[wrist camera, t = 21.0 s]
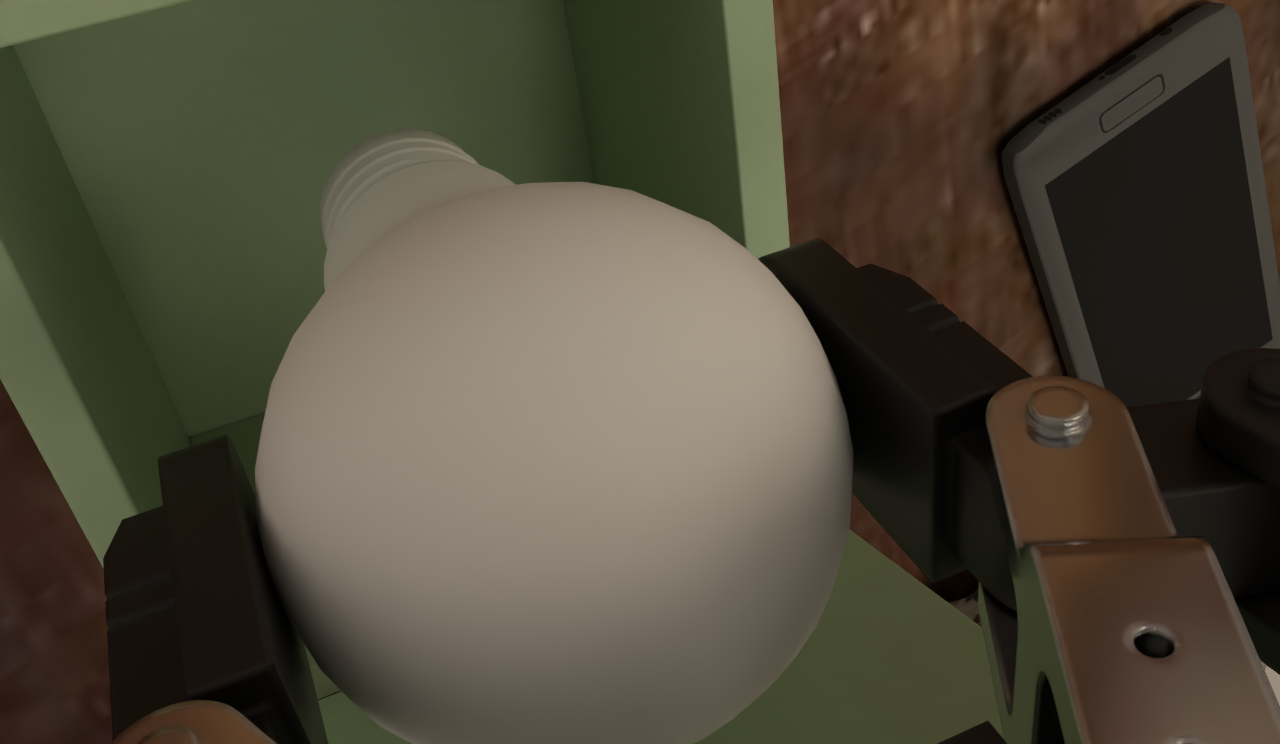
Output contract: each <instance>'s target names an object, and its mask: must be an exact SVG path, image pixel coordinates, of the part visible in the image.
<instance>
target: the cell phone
mask: <svg viewBox="0 0 1280 744" xmlns="http://www.w3.org/2000/svg"><path fill="white" fill-rule="evenodd" d="M1001 158H1002V165H1003V173H1004V178H1005V181H1006V184H1007V188H1008V191H1009V194H1010V197H1011V200H1012V203H1013V206H1014V209H1015V212H1016V216H1017V219H1018V222H1019V225H1020V228H1021V231H1022V234H1023V237H1024V240H1025V244H1026V247H1027V250H1028V253H1029V256H1030V259H1031V262H1032V265H1033V268H1034V272H1035V275H1036V278H1037V281H1038V284H1039V287H1040V290H1041V293H1042V297H1043V300H1044V303H1045V306H1046V309H1047V312H1048V315H1049V318H1050V321H1051V325H1052V328H1053V331H1054V334H1055V337H1056V340H1057V343H1058V346H1059V349H1060V353H1061V356H1062V359H1063V362H1064V365H1065V368H1066V371H1067V374H1068V377H1072V378H1077V379H1082V380H1085V381H1088V382H1092V383H1094V384H1096V385H1099V386H1101V387H1103V388H1105V389H1106V390H1108V391H1110V392H1111V393H1113V394H1114V395H1115V396H1116V397H1118V398H1119V399H1120V400H1121V401H1122V403H1123V404H1124V405H1125V406H1126V407H1133V406H1143V405H1151V404H1159V403H1166V402H1174V401H1182V400H1190V399H1198V398H1200V394H1201V388H1202V382H1203V377H1204V373H1205V371H1206V369H1207V368H1208V367H1209V366H1210V365H1211V363H1212V362H1214V361H1215V360H1217V359H1218V358H1220V357H1222V356H1224V355H1227V354H1229V353H1232V352H1236V351H1240V350H1246V349H1255V348H1273V349H1280V281H1279V274H1278V267H1277V260H1276V254H1275V247H1274V240H1273V233H1272V226H1271V219H1270V212H1269V205H1268V199H1267V192H1266V185H1265V178H1264V171H1263V164H1262V157H1261V150H1260V144H1259V137H1258V130H1257V123H1256V116H1255V109H1254V102H1253V95H1252V89H1251V82H1250V75H1249V68H1248V61H1247V54H1246V47H1245V40H1244V34H1243V29H1242V25H1241V21H1240V17H1239V15H1238V13H1237V11H1236V10H1235V9H1233V8H1231V7H1229V6H1227V5H1225V4H1220V3H1206V4H1204V5H1202V6H1201V7H1199V8H1197V9H1195V10H1194V11H1192V12H1190V13H1188V14H1186V15H1185V16H1183V17H1182V18H1180V19H1179V20H1177V21H1176V22H1175V23H1173V24H1172V25H1170V26H1169V27H1167V28H1166V29H1165V30H1163V31H1162V32H1160V33H1159V34H1157V35H1156V36H1154V37H1153V38H1152V39H1150V40H1149V41H1147V42H1146V43H1144V44H1143V45H1141V46H1140V47H1139V48H1137V49H1136V50H1134V51H1133V52H1131V53H1130V54H1129V55H1127V56H1126V57H1124V58H1123V59H1121V60H1120V61H1118V62H1117V63H1116V64H1114V65H1113V66H1111V67H1110V68H1108V69H1107V70H1106V71H1104V72H1103V73H1101V74H1100V75H1098V76H1097V77H1095V78H1094V79H1093V80H1091V81H1090V82H1088V83H1087V84H1085V85H1084V86H1083V87H1081V88H1080V89H1078V90H1077V91H1075V92H1074V93H1072V94H1071V95H1070V96H1068V97H1067V98H1065V99H1064V100H1062V101H1061V102H1059V103H1058V104H1057V105H1055V106H1054V107H1052V108H1051V109H1049V110H1048V111H1047V112H1045V113H1044V114H1042V115H1041V116H1039V117H1038V118H1036V119H1035V120H1034V121H1032V122H1031V123H1029V124H1028V125H1026V126H1025V127H1024V128H1023V129H1022V130H1021V131H1020V132H1019V133H1018V134H1016V135H1015V136H1014V137H1013V138H1012V139H1011V140H1010V141H1009V142H1008V144H1007V145H1006V147H1005V148H1004V150H1003V151H1002V156H1001Z"/></svg>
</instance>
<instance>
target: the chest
mask: <svg viewBox="0 0 1280 744" xmlns="http://www.w3.org/2000/svg"><path fill="white" fill-rule="evenodd" d="M398 128H416V129H421V130H426V131H431V132H434V133H436V134H439V135H441V136H444V137H446V138H447V139H449V140H450V141H452V142H453V143H455V144H456V145H458V146H459V147H460V148H461V149H462V150H463V151H464V152H465V153H466V154H468V155H469V156H471V157H472V158H473V159H474V160H475V161H476V162H477V163H478V164H479V165H481V166H483V167H486V168H488V169H491V170H493V171H496V172H498V173H500V174H501V175H503V176H504V177H506V178H507V179H509V180H510V181H512V182H513V183H515V184H516V185H519V184H525V183H547V182H588V183H593V184H599V185H605V186H610V187H616V188H622V189H627V190H632V191H635V192H637V193H640V194H642V195H645V196H647V197H650V198H652V199H655V200H657V201H660V202H662V203H665V204H667V205H670V206H672V207H674V208H677V209H679V210H682V211H684V212H686V213H689V214H691V215H694V216H696V217H698V218H701V219H703V220H706V221H708V222H710V223H712V224H713V225H715V226H716V227H717V228H719V229H720V230H721V231H723V232H724V233H725V234H727V235H728V236H730V237H731V238H732V239H734V240H735V241H736V242H738V243H739V244H740V245H742V246H743V247H745V248H746V249H747V250H749V251H750V252H751V253H752V254H753V255H754V256H755V257H756V258H757V259H759V258H760V257H762V256H765V255H768V254H771V253H774V252H777V251H780V250H783V249H786V248H789V247H790V243H789V229H788V214H787V200H786V186H785V171H784V157H783V143H782V129H781V114H780V100H779V86H778V71H777V57H776V43H775V28H774V14H773V0H0V379H1V381H2V383H3V385H4V387H5V388H6V390H7V392H8V394H9V396H10V398H11V399H12V401H13V403H14V405H15V407H16V409H17V410H18V412H19V414H20V416H21V418H22V420H23V422H24V423H25V425H26V427H27V429H28V431H29V433H30V434H31V436H32V438H33V440H34V442H35V444H36V445H37V447H38V449H39V451H40V453H41V455H42V456H43V458H44V460H45V462H46V464H47V466H48V468H49V469H50V471H51V473H52V475H53V477H54V479H55V480H56V482H57V484H58V486H59V488H60V490H61V491H62V493H63V495H64V497H65V499H66V501H67V502H68V504H69V506H70V508H71V510H72V512H73V513H74V515H75V517H76V519H77V521H78V523H79V525H80V526H81V528H82V530H83V532H84V534H85V536H86V537H87V539H88V541H89V543H90V545H91V547H92V548H93V550H94V552H95V554H96V556H97V558H98V559H99V561H100V563H101V565H102V567H103V569H104V565H103V558H104V556H105V554H106V551H107V549H108V547H109V545H110V543H111V541H112V539H113V537H114V535H115V533H116V531H117V529H118V527H119V525H120V523H121V521H122V519H125V518H128V517H131V516H134V515H137V514H140V513H143V512H146V511H149V510H151V509H154V508H157V507H160V506H163V501H162V493H161V485H160V477H159V469H158V457H160V456H163V455H166V454H169V453H172V452H175V451H178V450H181V449H184V448H187V447H190V446H193V445H196V444H199V443H202V442H205V441H208V440H211V439H214V438H217V437H219V436H222V435H225V434H228V435H229V437H230V438H231V440H232V442H233V444H234V446H235V449H236V451H237V453H238V456H239V458H240V460H241V463H242V465H243V467H244V470H245V472H246V475H247V477H248V479H249V482H250V484H251V486H252V489H253V491H254V494H255V496H256V493H255V466H256V460H257V453H258V447H259V441H260V435H261V430H262V425H263V420H264V416H265V411H266V406H267V402H268V397H269V392H270V387H271V383H272V381H273V379H274V377H275V374H276V372H277V370H278V368H279V366H280V363H281V361H282V359H283V357H284V355H285V352H286V350H287V348H288V346H289V344H290V342H291V339H292V337H293V335H294V334H295V332H296V331H297V330H298V328H299V327H300V325H301V324H302V323H303V321H304V320H305V319H306V317H307V316H308V314H309V313H310V312H311V310H312V309H313V308H314V306H315V305H316V304H317V302H318V301H319V299H320V298H321V297H322V295H323V294H324V293H325V288H324V262H325V258H326V253H327V248H326V245H325V241H324V236H323V231H322V224H321V219H320V201H321V196H322V191H323V187H324V185H325V182H326V180H327V178H328V176H329V173H330V172H331V170H332V169H333V167H334V166H335V165H336V163H337V162H338V160H339V159H340V158H341V157H342V156H343V155H344V154H345V153H346V152H347V151H348V150H349V149H350V148H352V147H353V146H355V145H356V144H358V143H359V142H361V141H362V140H364V139H365V138H368V137H370V136H373V135H375V134H378V133H380V132H383V131H388V130H393V129H398ZM305 649H306V653H307V657H308V661H309V665H310V669H311V674H312V678H313V682H314V686H315V690H316V694H317V698H318V699H320V698H323V697H325V696H328V695H330V694H333V693H335V692H338V691H341V690H340V689H339V688H338V687H337V686H336V685H335V684H334V683H333V682H332V681H331V680H330V679H329V678H328V677H327V676H326V675H325V674H324V673H323V672H322V671H321V669H320V668H319V666H318V665H317V663H316V661H315V660H314V658H313V657H312V655H311V654H310V652H309V650H308V649H307V647H306V646H305Z"/></svg>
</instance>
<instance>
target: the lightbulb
mask: <svg viewBox="0 0 1280 744" xmlns="http://www.w3.org/2000/svg"><path fill="white" fill-rule="evenodd" d="M320 219H321V224H322V231H323V236H324V241H325V245H326V248H327V253H326V258H325V262H324V288H325V293H324V294H323V295H322V297H321V298H320V299H319V301H318V302H317V304H316V305H315V306H314V308H313V309H312V310H311V312H310V313H309V314H308V316H307V317H306V319H305V320H304V321H303V323H302V324H301V325H300V327H299V328H298V330H297V331H296V332H295V334H294V335H293V337H292V339H291V342H290V344H289V346H288V348H287V350H286V352H285V355H284V357H283V359H282V361H281V363H280V366H279V368H278V370H277V372H276V374H275V377H274V379H273V381H272V383H271V387H270V392H269V397H268V402H267V406H266V411H265V416H264V420H263V425H262V430H261V435H260V441H259V447H258V453H257V460H256V466H255V493H256V521H257V525H258V530H259V534H260V539H261V543H262V547H263V552H264V556H265V559H266V562H267V566H268V569H269V572H270V576H271V579H272V582H273V584H274V587H275V590H276V592H277V595H278V598H279V600H280V603H281V606H282V608H283V610H284V611H285V613H286V615H287V616H288V618H289V620H290V621H291V623H292V625H293V626H294V628H295V630H296V631H297V633H298V635H299V636H300V638H301V639H302V641H303V642H304V644H305V646H306V647H307V649H308V650H309V652H310V654H311V655H312V657H313V658H314V660H315V661H316V663H317V665H318V666H319V668H320V669H321V671H322V672H323V673H324V674H325V675H326V676H327V677H328V678H329V679H330V680H331V681H332V682H333V683H334V684H335V685H336V686H337V687H338V688H339V689H340V690H341V691H342V692H343V693H344V694H345V695H346V696H347V697H348V698H349V699H350V700H351V701H352V702H354V703H355V704H356V705H357V706H358V707H359V708H360V709H361V710H362V711H363V712H364V713H366V714H367V715H368V716H369V717H370V718H371V719H372V720H373V721H374V722H375V723H377V724H378V725H379V726H380V727H382V728H384V729H385V730H387V731H389V732H391V733H393V734H395V735H397V736H398V737H400V738H402V739H404V740H406V741H408V742H410V743H412V744H694V743H696V742H698V741H700V740H701V739H703V738H705V737H707V736H709V735H710V734H712V733H713V732H715V731H716V730H717V729H719V728H720V727H722V726H723V725H725V724H726V723H728V722H729V721H731V720H732V719H734V718H735V717H736V716H737V715H738V714H739V713H741V712H742V711H743V710H744V709H745V708H746V707H747V706H749V705H750V704H751V703H752V702H753V701H754V700H755V699H757V698H758V697H759V696H760V695H761V694H762V693H763V692H765V691H766V690H767V689H768V688H769V687H770V686H771V685H772V684H773V683H774V681H775V680H776V679H777V678H778V677H779V676H780V675H781V674H782V672H783V671H784V670H785V669H786V668H787V667H788V666H789V665H790V663H791V662H792V661H793V660H794V659H795V658H796V656H797V655H798V653H799V652H800V650H801V649H802V647H803V646H804V644H805V643H806V641H807V640H808V638H809V637H810V635H811V634H812V632H813V631H814V629H815V628H816V626H817V624H818V621H819V619H820V617H821V615H822V613H823V611H824V609H825V606H826V604H827V602H828V600H829V598H830V596H831V593H832V590H833V586H834V583H835V580H836V577H837V573H838V570H839V567H840V563H841V559H842V556H843V552H844V548H845V544H846V541H847V537H848V533H849V529H850V517H851V499H852V479H853V456H854V452H853V447H852V441H851V435H850V429H849V424H848V418H847V413H846V409H845V406H844V402H843V399H842V396H841V392H840V389H839V385H838V382H837V378H836V376H835V374H834V371H833V369H832V367H831V365H830V363H829V360H828V358H827V356H826V354H825V352H824V349H823V347H822V345H821V343H820V341H819V339H818V337H817V335H816V333H815V331H814V330H813V328H812V326H811V324H810V323H809V321H808V319H807V317H806V316H805V314H804V312H803V310H802V309H801V307H800V306H799V305H798V303H797V302H796V301H795V300H794V299H793V297H792V296H791V295H790V294H789V292H788V291H787V290H786V289H785V287H784V286H783V285H782V284H781V283H780V281H779V280H778V279H777V278H776V276H775V275H774V274H773V273H772V272H771V271H770V270H769V269H768V268H767V267H766V266H765V265H764V264H762V263H761V262H760V261H759V260H758V259H757V258H756V257H755V256H754V255H753V254H752V253H751V252H750V251H749V250H747V249H746V248H745V247H743V246H742V245H740V244H739V243H738V242H736V241H735V240H734V239H732V238H731V237H730V236H728V235H727V234H725V233H724V232H723V231H721V230H720V229H719V228H717V227H716V226H715V225H713V224H712V223H710V222H708V221H706V220H703V219H701V218H698V217H696V216H694V215H691V214H689V213H686V212H684V211H682V210H679V209H677V208H674V207H672V206H670V205H667V204H665V203H662V202H660V201H657V200H655V199H652V198H650V197H647V196H645V195H642V194H640V193H637V192H635V191H632V190H627V189H622V188H616V187H610V186H605V185H599V184H593V183H588V182H547V183H525V184H519V185H516V184H515V183H513V182H512V181H510V180H509V179H507V178H506V177H504V176H503V175H501V174H500V173H498V172H496V171H493V170H491V169H488V168H486V167H483V166H481V165H479V164H478V163H477V162H476V161H475V160H474V159H473V158H472V157H471V156H469V155H468V154H466V153H465V152H464V151H463V150H462V149H461V148H460V147H459V146H458V145H456V144H455V143H453V142H452V141H450V140H449V139H447V138H446V137H444V136H441V135H439V134H436V133H434V132H431V131H426V130H421V129H416V128H398V129H393V130H388V131H383V132H380V133H378V134H375V135H373V136H370V137H368V138H365V139H364V140H362V141H361V142H359V143H358V144H356V145H355V146H353V147H352V148H350V149H349V150H348V151H347V152H346V153H345V154H344V155H343V156H342V157H341V158H340V159H339V160H338V162H337V163H336V165H335V166H334V167H333V169H332V170H331V172H330V173H329V176H328V178H327V180H326V182H325V185H324V187H323V191H322V196H321V201H320Z"/></svg>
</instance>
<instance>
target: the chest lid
mask: <svg viewBox="0 0 1280 744" xmlns="http://www.w3.org/2000/svg"><path fill="white" fill-rule="evenodd" d="M318 703H319V707H320V711H321V715H322V719H323V723H324V727H325V732H326V736H327V740H328V744H412V743H410V742H408V741H406V740H404V739H402V738H400V737H398V736H397V735H395V734H393V733H391V732H389V731H387V730H385V729H384V728H382V727H380V726H379V725H378V724H377V723H375V722H374V721H373V720H372V719H371V718H370V717H369V716H368V715H367V714H366V713H364V712H363V711H362V710H361V709H360V708H359V707H358V706H357V705H356V704H355V703H354V702H352V701H351V700H350V699H349V698H348V697H347V696H346V695H345V694H344V693H343V692H342V691H341V692H339V693H336V694H334V695H331V696H328V697H326V698H323V699H321V700H318ZM985 721H989V722H990V723H991V724H992V726H993V727H994V728H995V729H996V730H997V732H998V733H999V734H1000V735H1001V737H1002V738H1003V739H1004V737H1003V732H1002V726H1001V721H1000V716H999V711H998V706H997V701H996V696H995V691H994V686H993V681H992V676H991V671H990V665H989V660H988V655H987V650H986V645H985V640H984V635H983V630H982V627H980V626H979V625H978V624H976V623H975V622H974V621H972V620H971V619H970V618H968V617H967V616H966V615H964V614H963V613H962V612H960V611H959V610H957V609H956V608H955V607H953V606H952V605H951V604H949V603H948V602H947V601H945V600H944V599H943V598H941V597H940V596H939V595H937V594H936V593H934V592H933V591H932V590H930V589H929V588H928V587H926V586H925V585H924V584H922V583H921V582H920V581H918V580H917V579H916V578H914V577H913V576H911V575H910V574H909V573H907V572H906V571H905V570H903V569H902V568H901V567H899V566H898V565H897V564H895V563H894V562H893V561H891V560H890V559H889V558H887V557H886V556H884V555H883V554H882V553H880V552H879V551H878V550H876V549H875V548H874V547H872V546H871V545H870V544H868V543H867V542H866V541H864V540H863V539H861V538H860V537H859V536H857V535H856V534H855V533H853V532H852V531H851V530H849V533H848V537H847V541H846V544H845V548H844V552H843V556H842V559H841V563H840V567H839V570H838V573H837V577H836V580H835V583H834V586H833V590H832V593H831V596H830V598H829V600H828V602H827V604H826V606H825V609H824V611H823V613H822V615H821V617H820V619H819V621H818V624H817V626H816V628H815V629H814V631H813V632H812V634H811V635H810V637H809V638H808V640H807V641H806V643H805V644H804V646H803V647H802V649H801V650H800V652H799V653H798V655H797V656H796V658H795V659H794V660H793V661H792V662H791V663H790V665H789V666H788V667H787V668H786V669H785V670H784V671H783V672H782V674H781V675H780V676H779V677H778V678H777V679H776V680H775V681H774V683H773V684H772V685H771V686H770V687H769V688H768V689H767V690H766V691H765V692H763V693H762V694H761V695H760V696H759V697H758V698H757V699H755V700H754V701H753V702H752V703H751V704H750V705H749V706H747V707H746V708H745V709H744V710H743V711H742V712H741V713H739V714H738V715H737V716H736V717H735V718H734V719H732V720H731V721H729V722H728V723H726V724H725V725H723V726H722V727H720V728H719V729H717V730H716V731H715V732H713V733H712V734H710V735H709V736H707V737H705V738H703V739H701V740H700V741H698V742H696V743H694V744H937V743H939V742H942V741H944V740H946V739H948V738H950V737H953V736H955V735H957V734H959V733H961V732H964V731H966V730H968V729H970V728H972V727H974V726H977V725H979V724H981V723H983V722H985Z"/></svg>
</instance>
